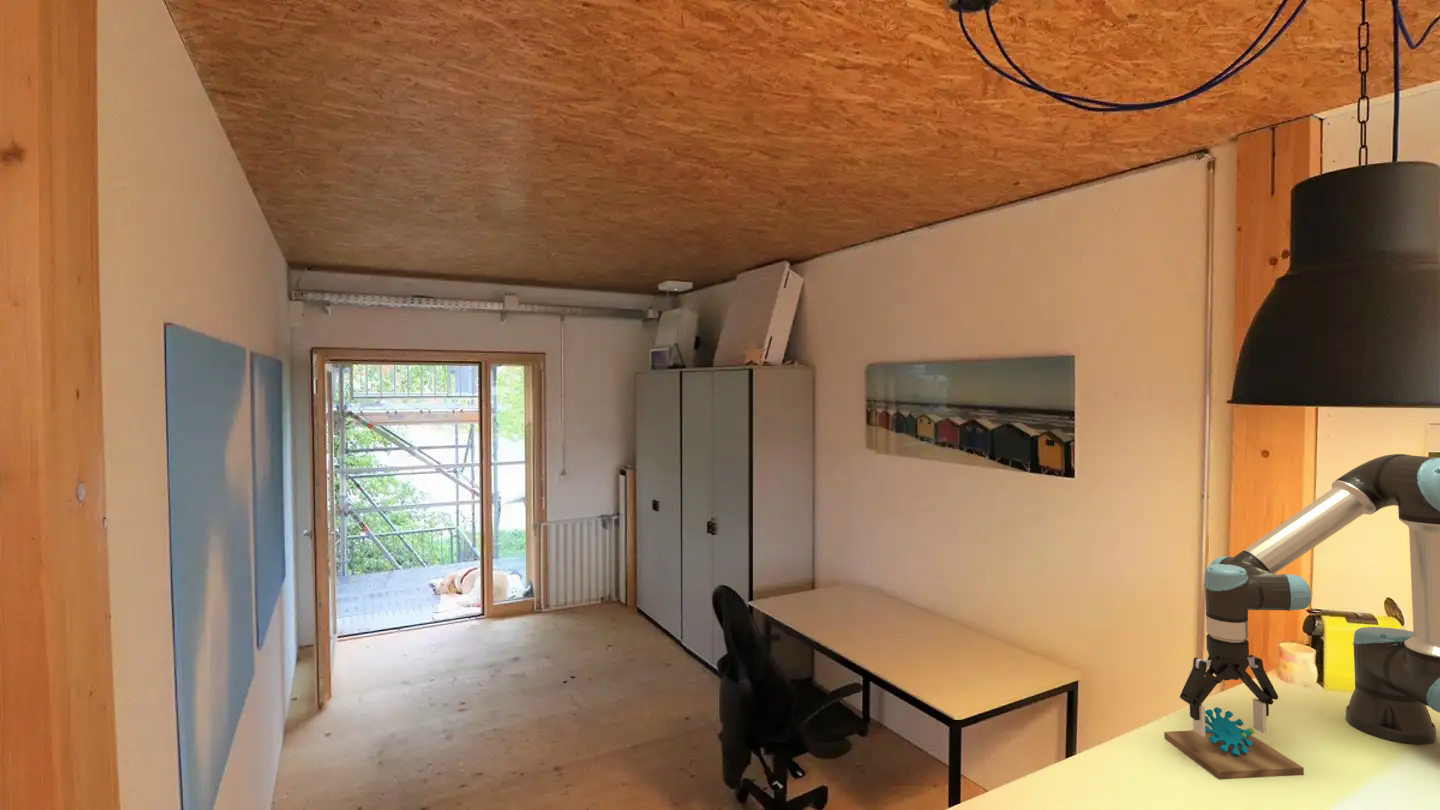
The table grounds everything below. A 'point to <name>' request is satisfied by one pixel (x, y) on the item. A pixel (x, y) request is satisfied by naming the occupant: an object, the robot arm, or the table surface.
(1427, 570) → the robot arm
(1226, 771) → the mount plate
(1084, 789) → the table surface
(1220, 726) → the gear
